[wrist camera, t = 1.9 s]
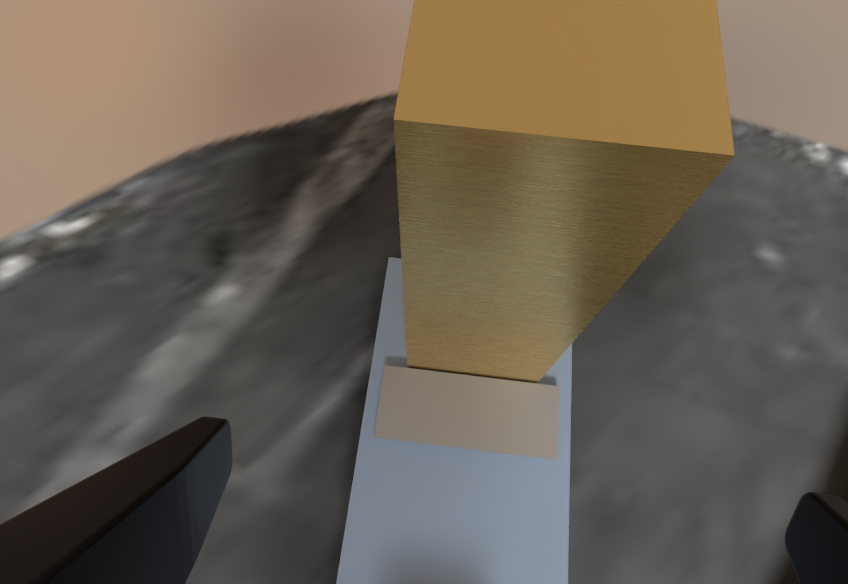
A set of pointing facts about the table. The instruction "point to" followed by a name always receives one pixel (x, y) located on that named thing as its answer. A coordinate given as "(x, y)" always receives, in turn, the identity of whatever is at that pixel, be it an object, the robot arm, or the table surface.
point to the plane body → (457, 471)
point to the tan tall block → (545, 166)
